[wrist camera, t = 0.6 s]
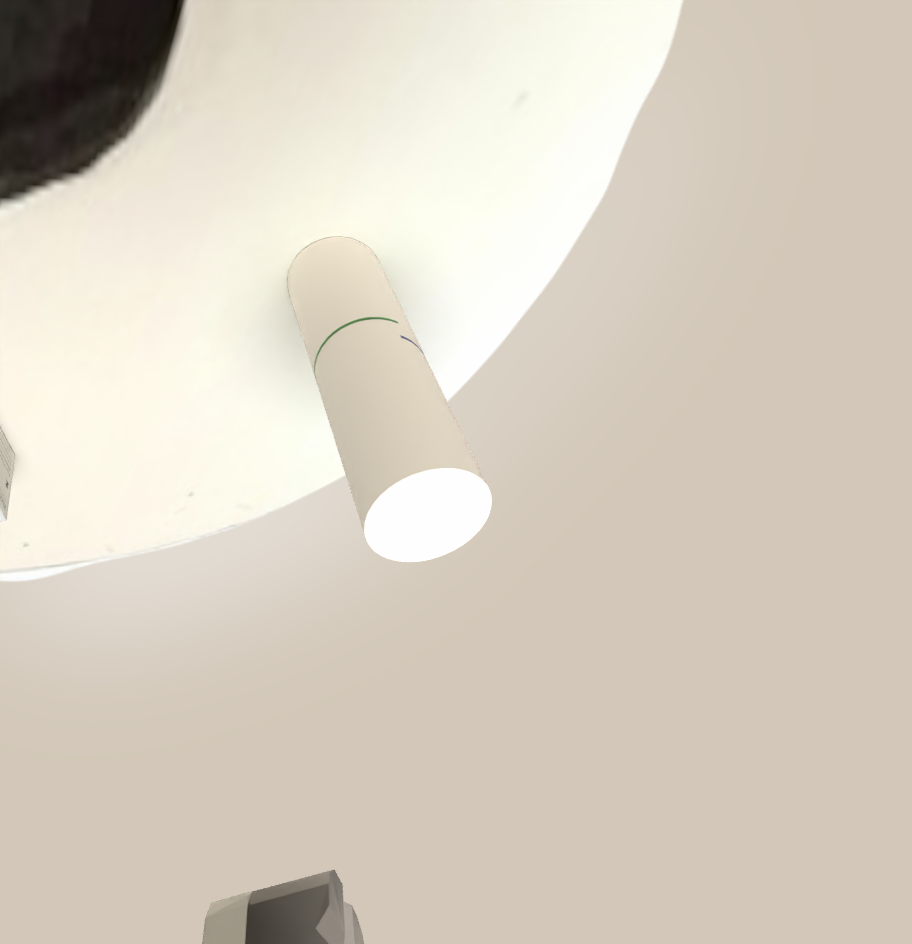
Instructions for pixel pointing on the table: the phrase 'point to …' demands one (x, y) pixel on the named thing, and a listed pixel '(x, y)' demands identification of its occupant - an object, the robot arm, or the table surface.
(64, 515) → the table surface
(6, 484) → the skincare box
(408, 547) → the cylindrical container
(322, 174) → the table surface
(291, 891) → the robot arm
